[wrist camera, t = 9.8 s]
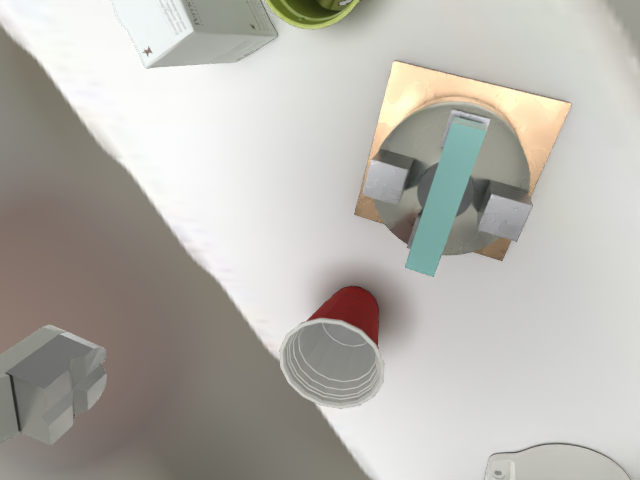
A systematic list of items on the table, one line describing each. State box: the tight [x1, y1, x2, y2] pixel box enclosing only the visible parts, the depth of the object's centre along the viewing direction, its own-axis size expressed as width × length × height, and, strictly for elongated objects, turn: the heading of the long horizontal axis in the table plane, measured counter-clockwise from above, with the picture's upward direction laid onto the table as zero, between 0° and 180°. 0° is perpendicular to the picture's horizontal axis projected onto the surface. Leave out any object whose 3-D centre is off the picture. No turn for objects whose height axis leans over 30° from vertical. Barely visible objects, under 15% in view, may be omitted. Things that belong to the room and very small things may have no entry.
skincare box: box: [111, 0, 277, 69], centre depth 40 cm, size 8×6×15 cm
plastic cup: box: [279, 286, 384, 409], centre depth 50 cm, size 11×11×12 cm
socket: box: [354, 61, 571, 261], centre depth 40 cm, size 16×16×12 cm
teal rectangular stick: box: [405, 116, 486, 277], centre depth 36 cm, size 4×12×5 cm, turn 169°
